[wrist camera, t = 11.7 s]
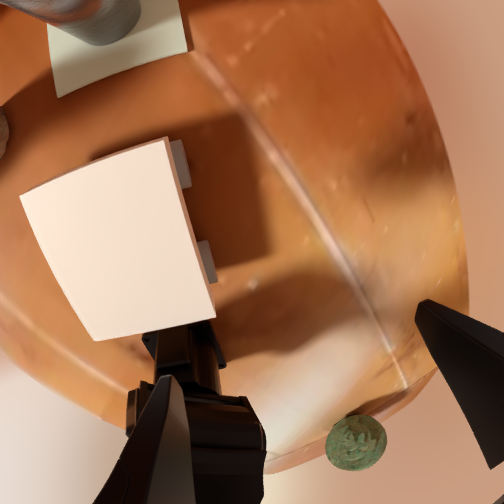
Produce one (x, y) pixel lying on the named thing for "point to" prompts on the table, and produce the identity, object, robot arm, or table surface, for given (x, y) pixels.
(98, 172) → the slab on rollers
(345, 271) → the table surface
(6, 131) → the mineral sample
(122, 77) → the table surface
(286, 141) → the table surface
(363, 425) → the decorative artifact
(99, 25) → the silver metal cylinder
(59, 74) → the mat
